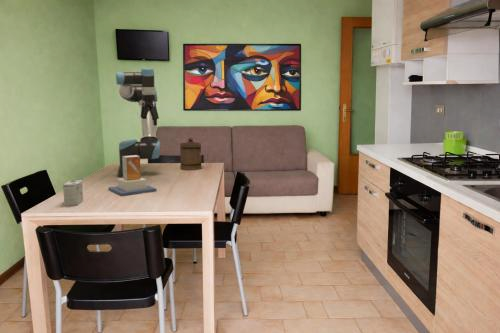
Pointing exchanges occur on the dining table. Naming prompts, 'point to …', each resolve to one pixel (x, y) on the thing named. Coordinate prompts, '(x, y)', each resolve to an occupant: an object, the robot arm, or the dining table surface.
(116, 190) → the build board
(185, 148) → the wooden container
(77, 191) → the light bulb box
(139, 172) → the small box
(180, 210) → the dining table surface
